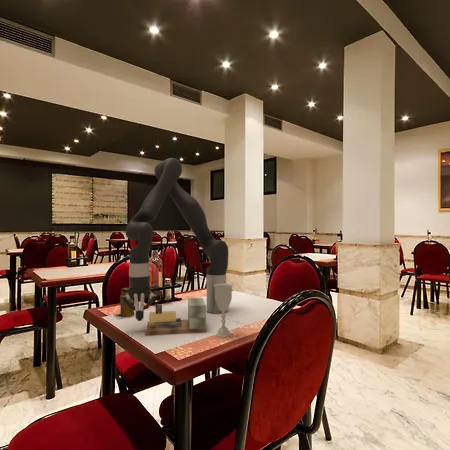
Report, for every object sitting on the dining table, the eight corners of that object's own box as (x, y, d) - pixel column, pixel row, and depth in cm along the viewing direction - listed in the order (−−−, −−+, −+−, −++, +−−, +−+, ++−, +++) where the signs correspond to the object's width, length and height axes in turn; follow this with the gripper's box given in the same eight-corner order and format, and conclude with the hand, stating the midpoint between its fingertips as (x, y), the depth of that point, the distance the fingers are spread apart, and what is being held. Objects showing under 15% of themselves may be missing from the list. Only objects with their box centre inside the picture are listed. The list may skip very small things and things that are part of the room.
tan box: (175, 323, 120) (175, 303, 120) (176, 325, 117) (175, 305, 117) (149, 324, 119) (149, 304, 119) (149, 327, 116) (149, 306, 116)
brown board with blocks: (202, 322, 127) (202, 297, 127) (205, 332, 115) (205, 305, 115) (147, 325, 123) (147, 300, 123) (145, 335, 111) (145, 307, 111)
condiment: (137, 316, 136) (137, 288, 136) (117, 319, 131) (117, 291, 132) (132, 312, 142) (132, 286, 142) (113, 315, 138) (113, 288, 138)
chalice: (225, 330, 117) (225, 282, 117) (237, 335, 111) (237, 285, 112) (209, 334, 112) (209, 285, 112) (221, 339, 107) (221, 287, 107)
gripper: (157, 272, 122) (158, 316, 122) (123, 273, 119) (123, 318, 119) (156, 275, 114) (157, 322, 114) (119, 276, 112) (119, 324, 112)
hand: (139, 320), depth 117 cm, fingers closed
